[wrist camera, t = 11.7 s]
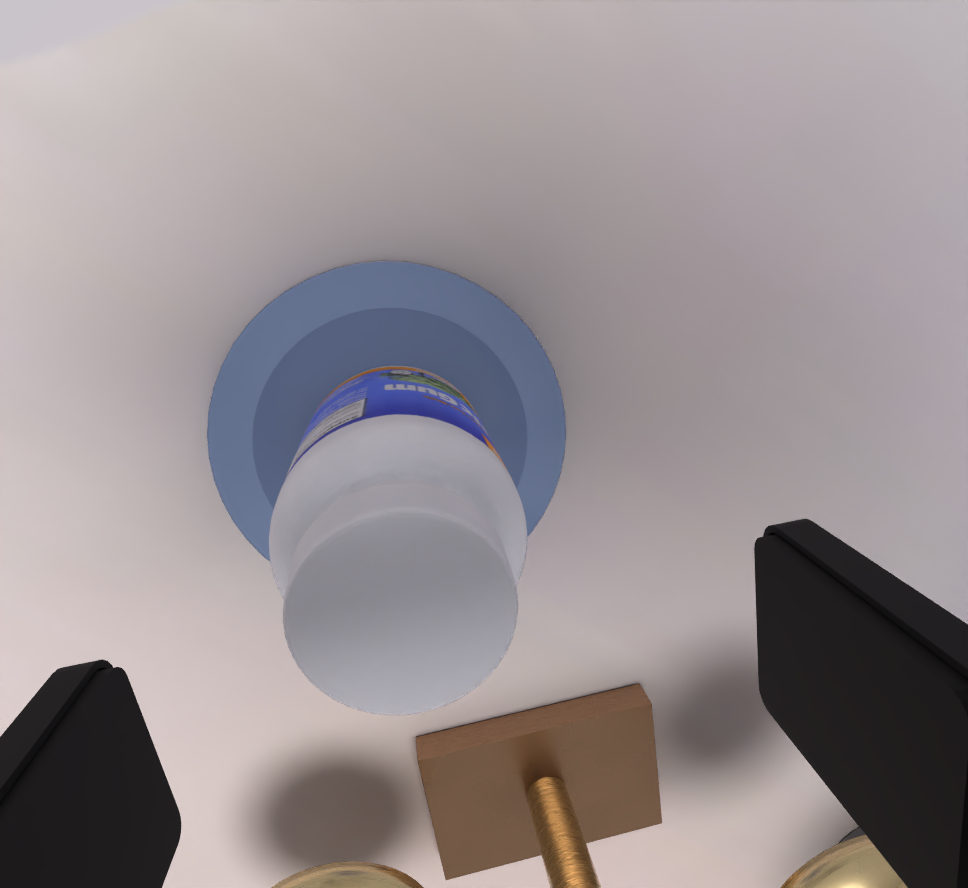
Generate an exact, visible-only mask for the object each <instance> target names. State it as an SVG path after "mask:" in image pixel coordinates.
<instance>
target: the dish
mask: <svg viewBox="0 0 968 888" xmlns="http://www.w3.org/2000/svg"><path fill="white" fill-rule="evenodd" d="M384 366H408V367H415V368H419V369H422V370H426V371H428V372H431V373H434V374H436V375H438V376H440V377H441V378H443V379H445V380H446V381H448V382H449V383H451V384H452V385H453V386H454V387H456V388H457V389H458V390H459V391H460V392H461V393H462V394H463V395H464V396H465V398H466V399H467V400H468V401H469V402H470V404H471V405H472V407H473V408H474V410H475V411H476V413H477V415H478V417H479V418H480V420H481V422H482V424H483V426H484V428H485V430H486V432H487V433H488V435H489V437H490V439H491V441H492V443H493V445H494V446H495V448H496V450H497V452H498V454H499V456H500V458H501V459H502V461H503V463H504V465H505V467H506V468H507V471H508V472H509V474H510V476H511V478H512V480H513V482H514V485H515V487H516V489H517V491H518V494H519V496H520V499H521V502H522V505H523V509H524V513H525V519H526V526H527V537H528V535H529V534H530V533H531V532H532V531H533V529H534V528H535V526H536V525H537V523H538V522H539V520H540V519H541V517H542V516H543V514H544V512H545V510H546V508H547V506H548V504H549V502H550V500H551V498H552V496H553V494H554V491H555V488H556V485H557V482H558V479H559V477H560V473H561V468H562V463H563V458H564V452H565V439H566V425H565V411H564V405H563V400H562V395H561V390H560V387H559V384H558V381H557V378H556V375H555V372H554V369H553V367H552V365H551V363H550V361H549V359H548V357H547V355H546V353H545V351H544V349H543V348H542V346H541V345H540V343H539V342H538V340H537V339H536V337H535V336H534V334H533V333H532V331H531V330H530V329H529V328H528V327H527V325H526V324H525V323H524V322H523V321H522V320H521V319H520V318H519V316H518V315H517V314H516V313H515V312H514V311H512V310H511V309H510V308H509V307H508V306H507V305H505V304H504V303H503V302H502V301H501V300H500V299H498V298H497V297H496V296H494V295H492V294H491V293H489V292H488V291H486V290H485V289H483V288H482V287H480V286H479V285H477V284H475V283H473V282H470V281H468V280H466V279H464V278H462V277H460V276H458V275H456V274H453V273H450V272H447V271H444V270H440V269H437V268H434V267H431V266H427V265H421V264H416V263H410V262H399V261H375V262H364V263H356V264H352V265H348V266H343V267H339V268H335V269H332V270H330V271H327V272H324V273H322V274H319V275H317V276H314V277H312V278H309V279H307V280H306V281H304V282H302V283H300V284H298V285H297V286H295V287H293V288H291V289H289V290H288V291H286V292H284V293H283V294H282V295H280V296H279V297H278V298H276V299H275V300H274V301H272V302H271V303H270V304H268V305H267V306H266V307H265V308H264V309H263V310H262V311H261V312H260V313H259V314H258V315H257V316H256V317H255V318H254V319H253V320H252V321H251V322H250V323H249V324H248V325H247V326H246V328H245V329H244V330H243V332H242V333H241V334H240V336H239V337H238V338H237V340H236V341H235V342H234V344H233V346H232V347H231V349H230V351H229V353H228V355H227V357H226V359H225V360H224V362H223V364H222V366H221V369H220V372H219V374H218V377H217V380H216V382H215V385H214V388H213V393H212V397H211V402H210V407H209V413H208V430H207V438H208V450H209V459H210V464H211V468H212V472H213V477H214V481H215V483H216V486H217V489H218V491H219V494H220V496H221V499H222V502H223V503H224V505H225V507H226V509H227V511H228V513H229V514H230V516H231V518H232V520H233V522H234V523H235V524H236V526H237V527H238V528H239V530H240V531H241V532H242V534H243V535H244V536H245V538H246V539H247V540H248V541H249V542H250V543H251V544H252V545H253V546H254V547H255V548H256V549H257V551H258V552H259V553H260V554H261V555H262V556H264V557H265V558H266V559H267V560H269V561H270V555H269V532H270V523H271V518H272V514H273V511H274V507H275V504H276V501H277V498H278V496H279V493H280V490H281V487H282V485H283V482H284V480H285V477H286V475H287V472H288V471H289V468H290V466H291V464H292V461H293V459H294V457H295V454H296V452H297V450H298V447H299V445H300V443H301V440H302V438H303V436H304V434H305V431H306V429H307V427H308V425H309V423H310V421H311V419H312V417H313V415H314V413H315V412H316V410H317V408H318V407H319V405H320V404H321V403H322V401H323V400H324V399H325V398H326V397H327V396H328V395H329V394H330V393H331V392H332V391H333V390H334V389H335V388H336V387H337V386H339V385H340V384H341V383H343V382H344V381H346V380H347V379H349V378H351V377H353V376H355V375H357V374H359V373H362V372H364V371H367V370H370V369H374V368H378V367H384Z"/></svg>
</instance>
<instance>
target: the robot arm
mask: <svg viewBox="0 0 968 888" xmlns="http://www.w3.org/2000/svg"><path fill="white" fill-rule="evenodd" d="M754 551H755V583H756V614H757V645H758V676H759V690H760V694H761V697H762V700H763V703H764V705H765V707H766V709H767V710H768V712H769V713H770V714H771V716H772V717H773V718H774V719H775V721H776V722H777V723H778V724H779V726H780V727H781V728H782V730H783V731H784V732H785V733H786V735H787V736H788V737H789V738H790V740H791V741H792V742H793V743H794V745H795V746H796V747H797V749H798V750H799V751H800V752H801V754H802V755H803V756H804V757H805V759H806V760H807V761H808V762H809V764H810V765H811V766H812V767H813V769H814V770H815V771H816V773H817V774H818V775H819V776H820V778H821V779H822V780H823V781H824V783H825V784H826V785H827V786H828V788H829V789H830V790H831V791H832V793H833V794H834V795H835V797H836V798H837V799H838V800H839V802H840V803H841V804H842V805H843V807H844V808H845V809H846V810H847V812H848V813H849V814H850V815H851V817H852V818H853V819H854V821H855V822H856V823H857V824H858V826H859V827H860V828H861V829H862V831H863V832H864V833H865V834H866V836H867V837H868V838H869V839H870V841H871V842H872V843H873V845H874V846H875V847H876V848H877V850H878V851H879V852H880V853H881V855H882V856H883V857H884V858H885V860H886V861H887V862H888V863H889V865H890V866H891V867H892V869H893V870H894V871H895V872H896V874H897V875H898V876H899V877H900V879H901V880H902V881H903V882H904V884H905V885H906V886H907V887H908V888H968V624H966V623H965V622H963V621H962V620H960V619H959V618H957V617H956V616H954V615H953V614H951V613H950V612H948V611H947V610H945V609H944V608H942V607H941V606H939V605H938V604H936V603H934V602H933V601H931V600H930V599H928V598H927V597H925V596H924V595H922V594H921V593H919V592H918V591H916V590H915V589H913V588H912V587H910V586H909V585H907V584H906V583H904V582H903V581H901V580H900V579H898V578H897V577H895V576H894V575H892V574H891V573H889V572H888V571H886V570H885V569H883V568H882V567H880V566H879V565H877V564H876V563H874V562H873V561H871V560H870V559H868V558H867V557H865V556H864V555H862V554H861V553H859V552H858V551H856V550H855V549H853V548H852V547H850V546H849V545H847V544H846V543H844V542H843V541H841V540H840V539H838V538H837V537H835V536H834V535H832V534H830V533H829V532H827V531H826V530H824V529H823V528H821V527H820V526H818V525H817V524H815V523H814V522H812V521H810V520H808V519H801V520H796V521H791V522H786V523H781V524H776V525H771V526H768V527H767V528H766V529H765V532H764V534H763V537H760V538H758V539H757V540H756V542H755V548H754ZM180 834H181V817H180V813H179V810H178V807H177V805H176V802H175V799H174V797H173V794H172V791H171V789H170V786H169V784H168V781H167V778H166V776H165V773H164V771H163V768H162V765H161V763H160V760H159V757H158V755H157V752H156V750H155V747H154V744H153V742H152V739H151V737H150V734H149V731H148V729H147V726H146V723H145V721H144V718H143V716H142V713H141V710H140V708H139V705H138V703H137V700H136V697H135V695H134V692H133V689H132V687H131V684H130V682H129V679H128V676H127V675H126V673H125V671H124V670H123V669H122V668H120V667H115V668H113V666H112V665H111V664H110V663H109V662H108V661H106V660H98V661H93V662H88V663H83V664H78V665H73V666H68V667H63V668H60V669H57V670H56V671H55V672H54V673H53V674H52V675H51V676H50V677H49V679H48V680H47V681H46V682H45V684H44V685H43V686H42V687H41V688H40V690H39V691H38V692H37V693H36V694H35V696H34V697H33V698H32V699H31V701H30V702H29V703H28V704H27V705H26V707H25V708H24V709H23V710H22V711H21V713H20V714H19V715H18V716H17V717H16V719H15V720H14V721H13V722H12V724H11V725H10V726H9V727H8V728H7V730H6V731H5V732H4V733H3V734H2V736H1V737H0V888H162V886H163V883H164V880H165V878H166V875H167V872H168V870H169V867H170V864H171V862H172V859H173V856H174V854H175V851H176V848H177V846H178V843H179V839H180Z"/></svg>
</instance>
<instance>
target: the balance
mask: <svg viewBox="0 0 968 888" xmlns="http://www.w3.org/2000/svg"><path fill="white" fill-rule="evenodd" d="M416 744H417V757H418V764H419V768H420V772H421V777H422V781H423V785H424V789H425V794H426V798H427V802H428V806H429V811H430V815H431V819H432V824H433V828H434V832H435V836H436V841H437V845H438V849H439V853H440V858H441V862H442V866H443V871H444V875H445V879H446V880H448V879H452V878H456V877H460V876H464V875H467V874H471V873H475V872H479V871H483V870H486V869H490V868H494V867H498V866H502V865H505V864H509V863H513V862H517V861H520V860H524V859H528V858H532V857H536V856H539V855H542V858H543V862H544V865H545V869H546V873H547V877H548V880H549V884H550V888H601V886H600V883H599V880H598V877H597V874H596V871H595V868H594V865H593V863H592V860H591V857H590V854H589V851H588V848H587V845H586V843H589V842H593V841H596V840H600V839H604V838H608V837H611V836H615V835H619V834H623V833H627V832H630V831H634V830H638V829H642V828H646V827H649V826H653V825H657V824H661V823H662V816H661V805H660V794H659V782H658V771H657V760H656V749H655V737H654V726H653V715H652V704H651V702H650V700H649V699H648V697H647V695H646V694H645V692H644V690H643V689H642V687H641V685H640V683H639V684H635V685H631V686H627V687H623V688H619V689H614V690H610V691H606V692H602V693H598V694H594V695H589V696H585V697H581V698H577V699H573V700H569V701H565V702H560V703H556V704H552V705H548V706H544V707H540V708H535V709H531V710H527V711H523V712H519V713H515V714H510V715H506V716H502V717H498V718H494V719H490V720H485V721H481V722H477V723H473V724H469V725H465V726H460V727H456V728H452V729H448V730H444V731H440V732H435V733H431V734H427V735H423V736H419V737H416ZM272 888H424V887H422V886H421V885H420V884H419V883H418V882H417V881H416V880H414V879H413V878H411V877H410V876H408V875H407V874H405V873H403V872H400V871H398V870H396V869H393V868H390V867H387V866H384V865H379V864H375V863H368V862H338V863H330V864H325V865H320V866H316V867H313V868H310V869H306V870H303V871H301V872H299V873H296V874H294V875H292V876H290V877H288V878H286V879H284V880H282V881H281V882H279V883H278V884H276V885H275V886H273V887H272ZM781 888H908V887H907V886H906V885H905V884H904V882H903V881H902V880H901V879H900V877H899V876H898V875H897V874H896V872H895V871H894V870H893V869H892V867H891V866H890V865H889V863H888V862H887V861H886V860H885V858H884V857H883V856H882V855H881V853H880V852H879V851H878V850H877V848H876V847H875V846H874V845H873V843H872V842H871V841H870V839H869V838H868V837H867V836H866V835H862V836H859V837H856V838H853V839H850V840H847V841H844V842H842V843H840V844H837V845H835V846H833V847H831V848H829V849H828V850H826V851H824V852H822V853H820V854H819V855H817V856H816V857H814V858H813V859H811V860H810V861H808V862H807V863H806V864H805V865H803V866H802V867H801V868H800V869H798V870H797V871H796V872H795V873H794V874H793V875H792V876H791V877H790V878H789V879H788V880H787V881H786V882H785V883H784V884H783V885H782V887H781Z"/></svg>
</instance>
